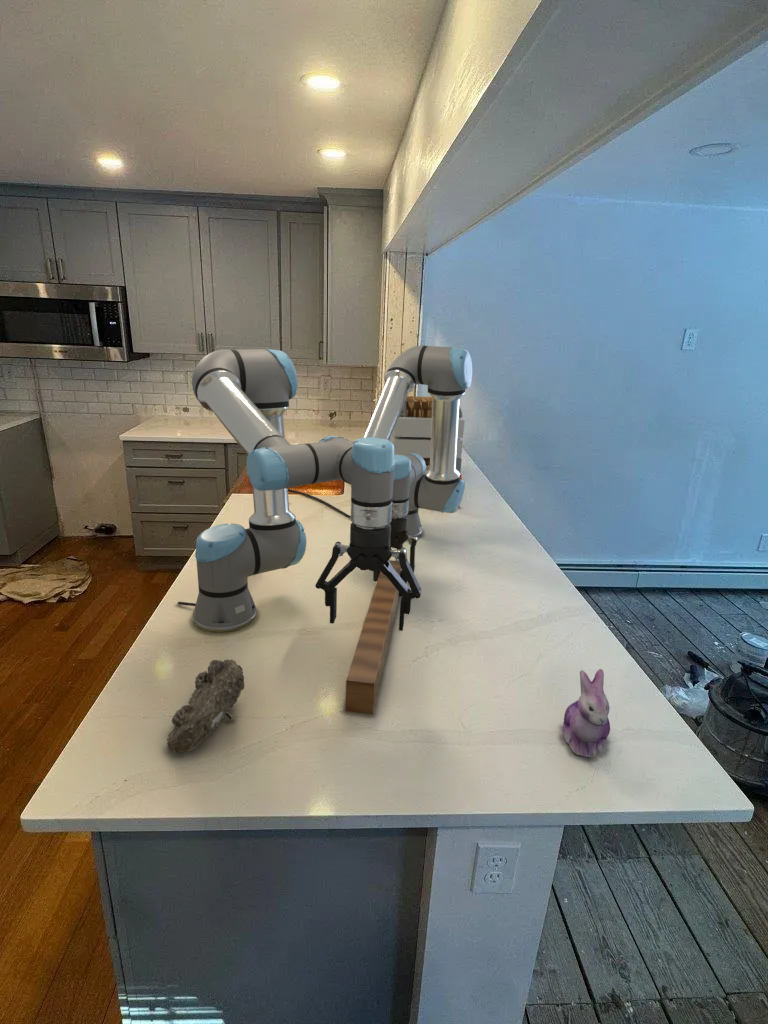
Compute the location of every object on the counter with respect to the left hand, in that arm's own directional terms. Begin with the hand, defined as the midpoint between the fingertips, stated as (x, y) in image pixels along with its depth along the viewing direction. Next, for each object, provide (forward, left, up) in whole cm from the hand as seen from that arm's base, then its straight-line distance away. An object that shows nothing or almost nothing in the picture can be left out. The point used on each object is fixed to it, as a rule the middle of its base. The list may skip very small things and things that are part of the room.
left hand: (367, 623), depth 112 cm
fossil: (-17, -25, -16) cm, 34 cm away
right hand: (-22, +38, -16) cm, 46 cm away
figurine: (+41, +16, -16) cm, 47 cm away
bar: (-11, +19, -16) cm, 27 cm away
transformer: (-85, +146, -16) cm, 170 cm away
